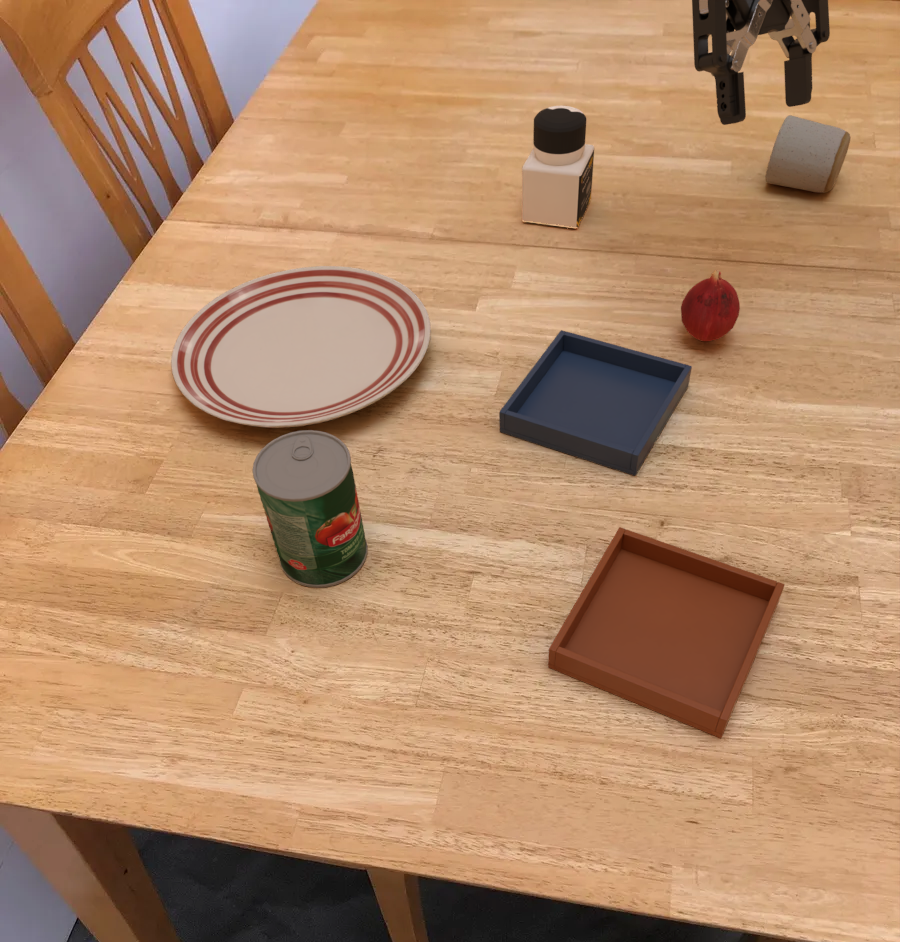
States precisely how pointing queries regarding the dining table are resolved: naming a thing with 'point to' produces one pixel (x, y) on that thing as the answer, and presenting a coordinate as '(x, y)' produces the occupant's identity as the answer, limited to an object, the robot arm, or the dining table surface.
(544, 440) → the blue tray
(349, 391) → the dinner plate
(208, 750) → the dining table surface
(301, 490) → the canned tomato
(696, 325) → the onion
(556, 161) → the medicine bottle
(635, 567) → the copper tray
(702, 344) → the dining table surface
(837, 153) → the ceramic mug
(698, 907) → the dining table surface
